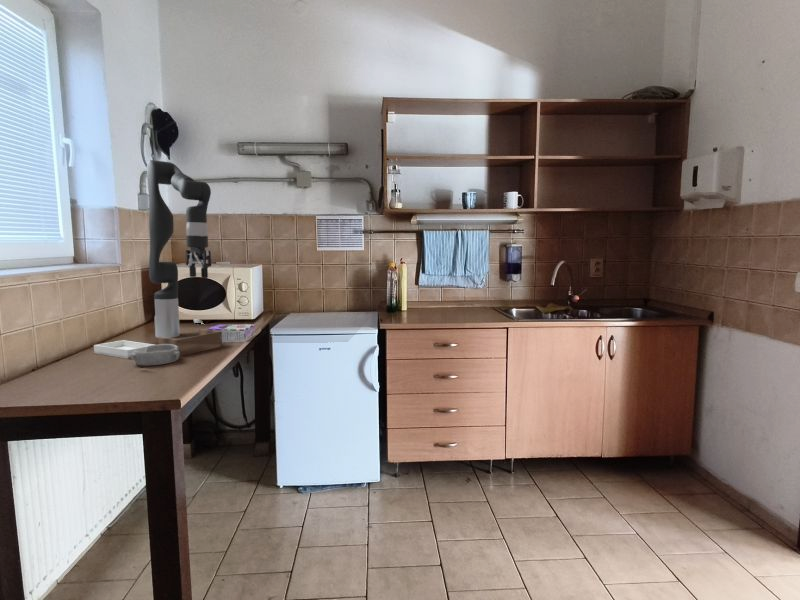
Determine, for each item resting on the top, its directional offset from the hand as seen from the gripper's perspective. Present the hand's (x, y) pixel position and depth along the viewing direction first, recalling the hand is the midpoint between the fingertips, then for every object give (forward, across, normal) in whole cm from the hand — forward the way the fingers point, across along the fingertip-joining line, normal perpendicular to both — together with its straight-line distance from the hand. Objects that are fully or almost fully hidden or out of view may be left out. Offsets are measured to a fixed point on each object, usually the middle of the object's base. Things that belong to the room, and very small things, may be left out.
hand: (198, 277), depth 177 cm
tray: (+28, -14, -22) cm, 38 cm away
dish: (+28, +10, -21) cm, 36 cm away
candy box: (+25, -12, +12) cm, 30 cm away
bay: (+28, -2, -4) cm, 28 cm away
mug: (+30, -51, +28) cm, 65 cm away
